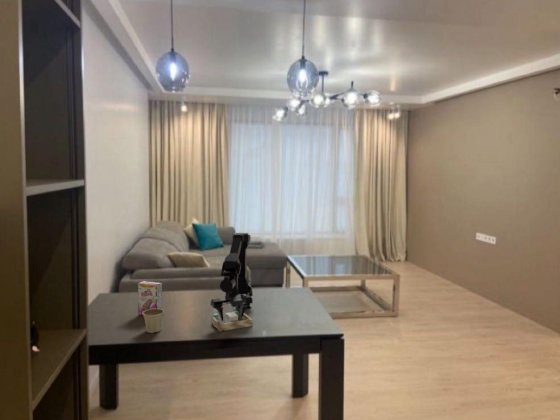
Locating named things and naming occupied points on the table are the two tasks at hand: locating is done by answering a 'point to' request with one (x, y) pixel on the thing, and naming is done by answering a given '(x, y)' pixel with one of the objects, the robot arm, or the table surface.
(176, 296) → the table surface
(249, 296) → the robot arm
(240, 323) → the open wooden frame
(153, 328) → the flower pot
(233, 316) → the block
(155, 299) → the candy bar box
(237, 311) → the teal block pair
